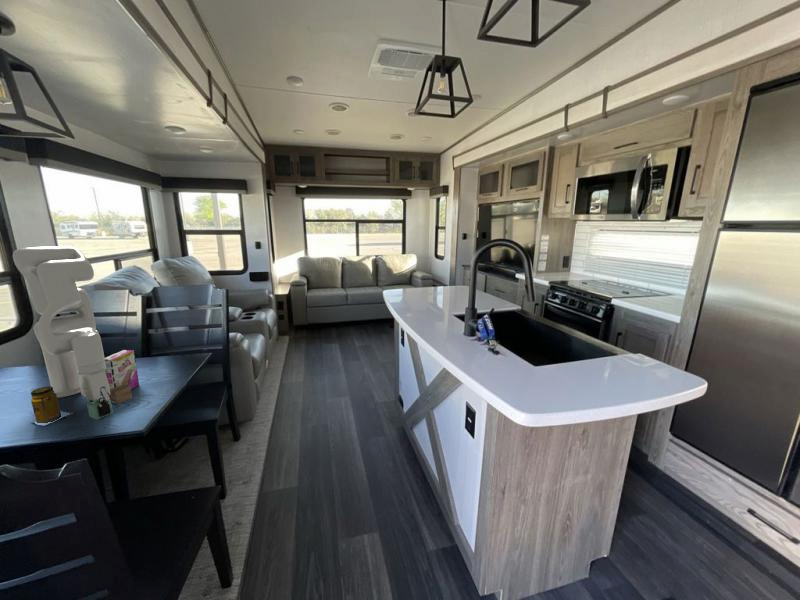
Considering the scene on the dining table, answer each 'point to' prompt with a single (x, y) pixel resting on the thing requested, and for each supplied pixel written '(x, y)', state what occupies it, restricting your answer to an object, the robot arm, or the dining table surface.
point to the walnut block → (120, 394)
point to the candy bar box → (121, 369)
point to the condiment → (45, 405)
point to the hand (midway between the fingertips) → (100, 412)
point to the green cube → (96, 409)
